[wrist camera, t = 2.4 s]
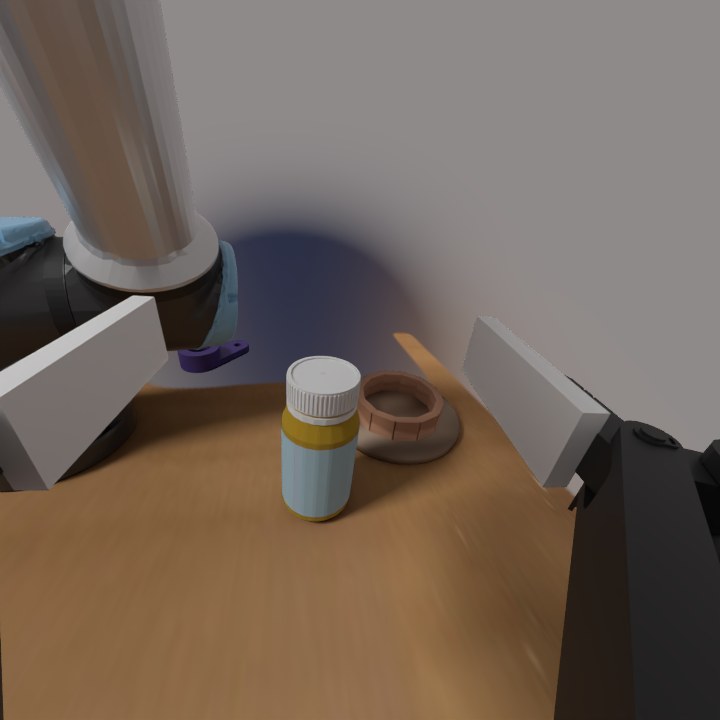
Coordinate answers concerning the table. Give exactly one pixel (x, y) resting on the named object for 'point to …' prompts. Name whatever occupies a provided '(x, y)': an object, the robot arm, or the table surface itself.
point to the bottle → (319, 436)
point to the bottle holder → (404, 419)
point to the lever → (211, 356)
